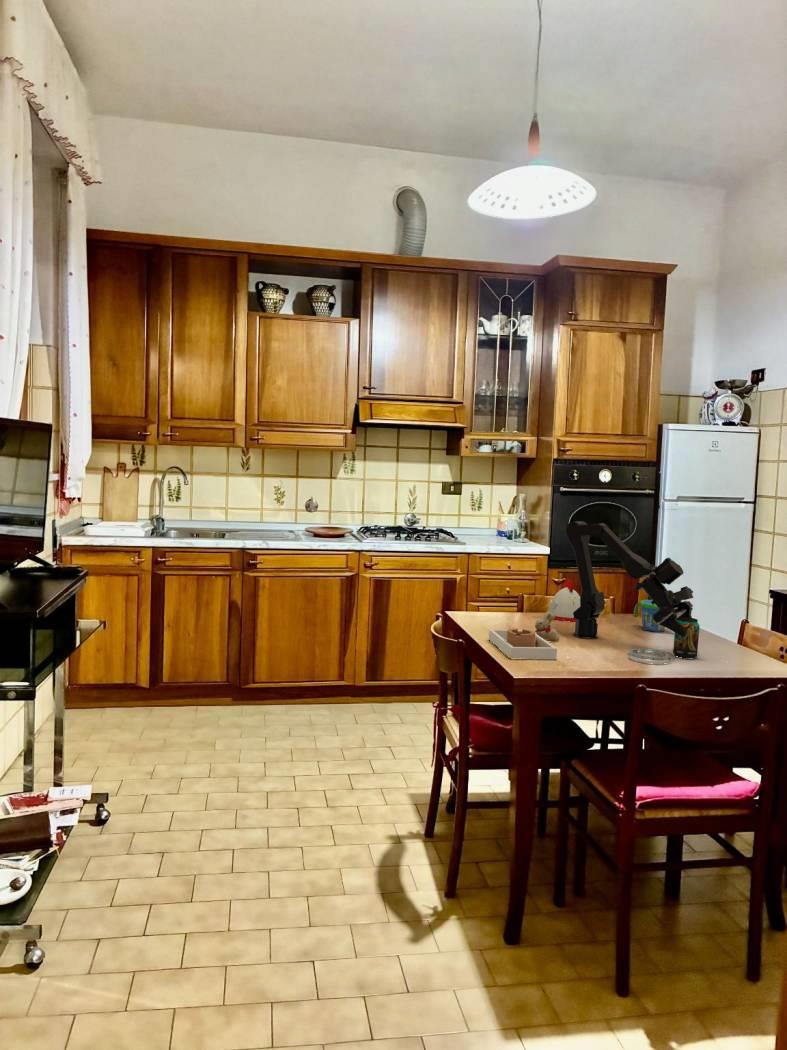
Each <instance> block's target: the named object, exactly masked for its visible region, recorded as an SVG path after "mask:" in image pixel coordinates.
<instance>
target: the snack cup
mask: <svg viewBox="0 0 787 1050" xmlns="http://www.w3.org/2000/svg"><path fill="white" fill-rule="evenodd" d="M651 602H652V599H643V600H640V601H639V602H637V603H636V604H635V606H634V609H633V616H634V618H638V617H639V607H640V608H641V622H642V623H641V625H642V629H643V630H644V631H649V632H653V633H655V632H656V633H660V632H661V633H663V632H664V631H665V630H666V627H664V626H662V625H659V624H660V623H661V622H662V620H661V622H660V623H658V624H656V622H655V621H654V620H653V615H654V614H655V613H656V612H657V611H659V608H658V607H657V606H656V605H655V604H654V605H653V604H652V603H651Z"/></svg>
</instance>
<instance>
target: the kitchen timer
mask: <svg viewBox="0 0 787 1050" xmlns="http://www.w3.org/2000/svg"><path fill="white" fill-rule="evenodd" d="M562 587H563V588H561V589H560V590H558V591H557V592H556V593H555V595H554V596H553V598H552V599H549V600H550V601H549V604H548V606H549V607H548V610H547V612H548V611H550V613H551V614H552V615H554V617H555V618H554V619H553V620H552V621H557V620H558V622H564V621H570V622H569V623H575V622H576V619H574V615H573V612H574V611H575V610H577V609H578V608H579V607H580V597H581V595H579V593H578V592H577V591H576V590H575V589H574V588H575V584H574V580H571V579H570V578H566V580H565V581H564V583H563V584H562Z"/></svg>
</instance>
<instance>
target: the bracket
mask: <svg viewBox="0 0 787 1050" xmlns="http://www.w3.org/2000/svg"><path fill="white" fill-rule="evenodd" d="M506 630H507V642H508V643H509V644H511V645H512V646H513V647H535V645H536V639H535V633H536V632H535V630H531V629H525V628H522V629H521V630H522V632H520V631H518V630H519V629H518V628H508V629H506Z"/></svg>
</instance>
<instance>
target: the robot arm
mask: <svg viewBox="0 0 787 1050" xmlns="http://www.w3.org/2000/svg"><path fill="white" fill-rule="evenodd" d="M564 529H565V530H564V531H565V534H566V537H567V541H568V542H569V544H570V546H571V547H572V548H573V551H574V555H575V560H576V561H575V562H576V566H577V567H576V568H577V571H578V576H579V577H578V578H579V581H580V582H579V583H580V587H581V593H580V607H579V608H578V609H577V610H575V611H574V612H573V615H574V619H576V622H574V623H575V624H574V626H575V627H574V631H573V632H572V635H574V636H576V637H578V638H580V639H598V636H597V635H598V627H599V626H598V625H599V623H597V619H599V617H600V614H601V613H603V612H604V610H605V608H606V604H607V602H606V600H605V594H604V591H601V592H600V590H598V588H597V586H596V585H597V584H596V580H595V577H594V570H593V565H592V560H591V555H590V550H589V543H590V539H591V536H597V538H598V539H600V540H601V541H602V543H603V544H605V546H606V547H607V548H608V549H609V550H610V551H611V552H612V553H613V555H615V557H617V558H618V560H620V562H621V564H622V567H623V569H624V570H625V572H626V574H627V575H628V576H629V577H630V578H631V579H633V580H639V579H643V580H642V581H636V582H635V583H636V586H635V591H636V592H637V591H642V590H643V591H644V592H645V593H646V594H647V596H648V597H649V598H650V600H652V602H651V603H652V604H653V605H654V604H655V605H656V606H657V607H658V608H659V611H657V612H656V613H655V614H654V615H653V620H654V621H655V622H656V624H658V623H660V622H661V620H662V622H661V623H660V624H659V625H662V626H664V627H665V629H667V630H670V631H672V632H674V634H675V633H677V634H679V635H681V636H682V637H684V636H686V633H685V632H684V630H683V628H682V627H681V625H680V623H679V622H678V618H679V617H689V618H693V617H692V613H693V612H692V611H693V609H694V608H693V607H694V605H693V603H692V602H691V601H689V600H691V599H694V595H693V593H694V591H693V590H692V588H691V587H689V586H683V587H680V590H679V591H675V592H674V591H673V590H671V589H669V590H668V588H667V587H666V586H665V585H669V586H670V585H671V584H672V583H674V582H675V581H677V579H679V578H680V577H681V576H683V575H684V570H683V569H684V568H682V567H681V566H680V564H678V563H677V562H676V561H674V560H672V559H671V558H670V557H666V558H665V559H664V560H663V561H662V562H661V563H659V564H658V565H657V566H655V565H652V564H650V562H649V561H647V560H646V559H645V558H643V557H642V556H640V555H638V554H636V553H634V552H633V551H632V550H631V549H630V548H629V547H628V546H627V545H626V544H625V543H624V542H623V541H622V540H621V539H620V538H619V537H618V536H617V535H616V534H615V533H614V532H613V531H612V530H611V528H609V526H608V525H607V524H606V523H593V524H592V523H589V524H588V523H586V522H585V521H571V522H569V523H568V524H567V525H566V527H565V528H564ZM650 575H651V577H650Z"/></svg>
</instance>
